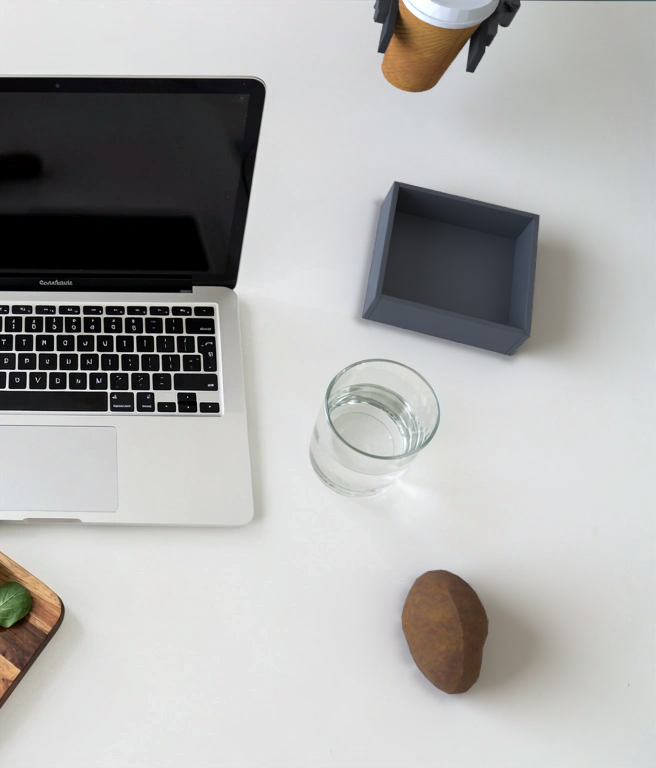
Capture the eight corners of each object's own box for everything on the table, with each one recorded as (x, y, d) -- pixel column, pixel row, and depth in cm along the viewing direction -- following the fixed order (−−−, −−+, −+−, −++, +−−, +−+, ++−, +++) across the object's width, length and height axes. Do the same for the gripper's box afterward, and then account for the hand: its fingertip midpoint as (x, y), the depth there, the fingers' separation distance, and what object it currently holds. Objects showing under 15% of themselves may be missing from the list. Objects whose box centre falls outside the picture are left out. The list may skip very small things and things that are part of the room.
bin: (519, 240, 99) (540, 214, 95) (508, 358, 92) (530, 336, 88) (380, 206, 100) (394, 180, 96) (360, 320, 94) (374, 297, 90)
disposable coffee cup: (368, 33, 101) (406, -62, 90) (455, 46, 100) (504, -49, 89) (363, 96, 96) (403, 5, 86) (454, 110, 96) (506, 20, 85)
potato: (402, 698, 78) (434, 687, 71) (379, 578, 82) (407, 558, 76) (483, 695, 78) (522, 684, 72) (455, 575, 82) (489, 555, 76)
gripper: (534, -44, 101) (519, 103, 92) (347, -81, 104) (315, 58, 94) (569, -106, 95) (557, 45, 85) (368, -144, 97) (336, -1, 88)
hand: (430, 52), depth 90 cm, fingers closed on disposable coffee cup, 8 cm apart
